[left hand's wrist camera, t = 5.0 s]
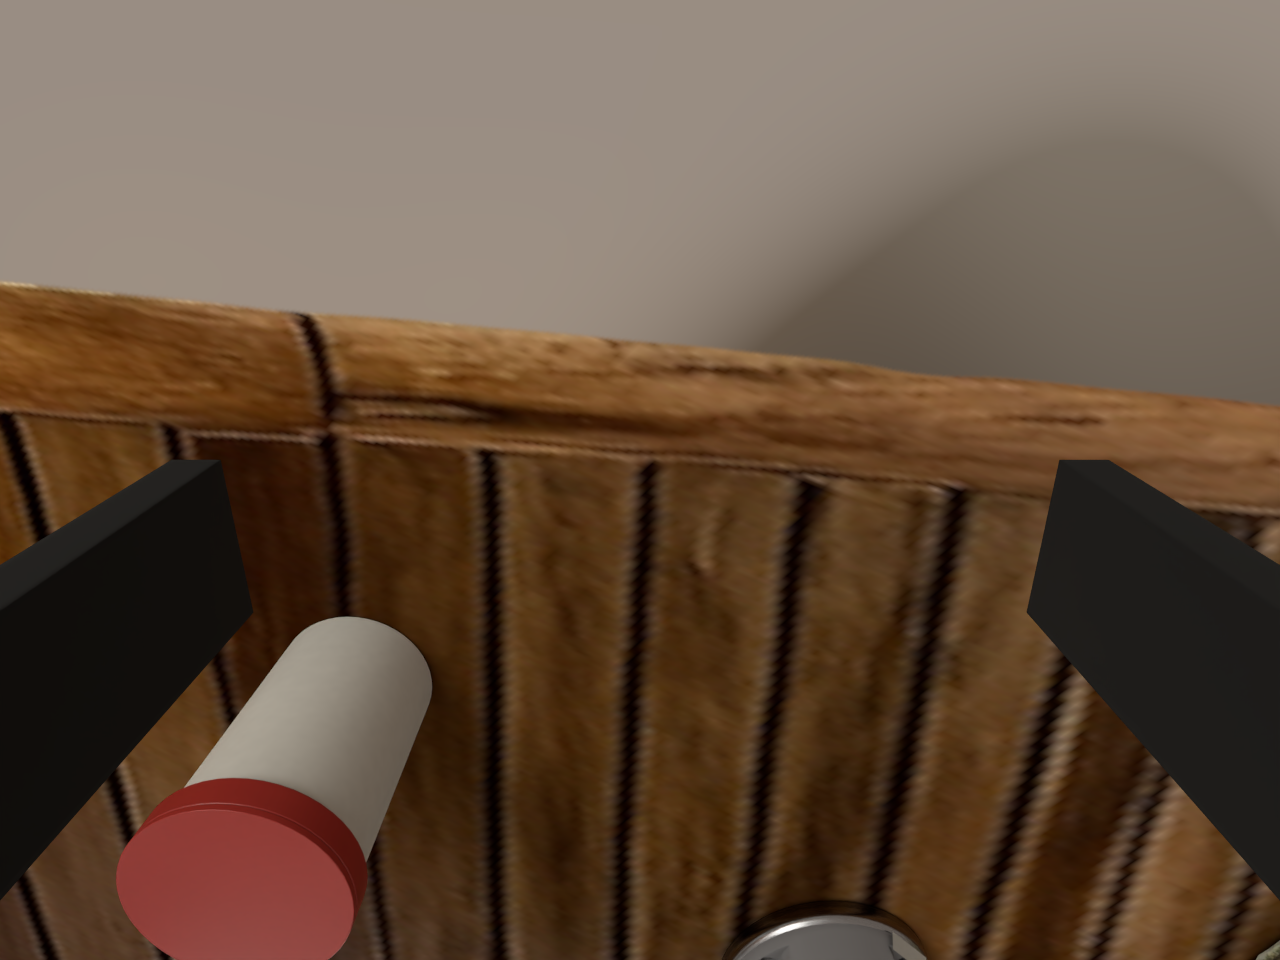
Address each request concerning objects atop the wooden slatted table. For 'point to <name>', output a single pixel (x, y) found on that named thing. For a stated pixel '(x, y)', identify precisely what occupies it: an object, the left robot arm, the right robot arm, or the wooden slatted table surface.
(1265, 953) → the fossil
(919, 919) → the wooden slatted table surface
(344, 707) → the jar
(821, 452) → the wooden slatted table surface
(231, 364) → the wooden slatted table surface
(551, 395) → the wooden slatted table surface
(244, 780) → the lid
